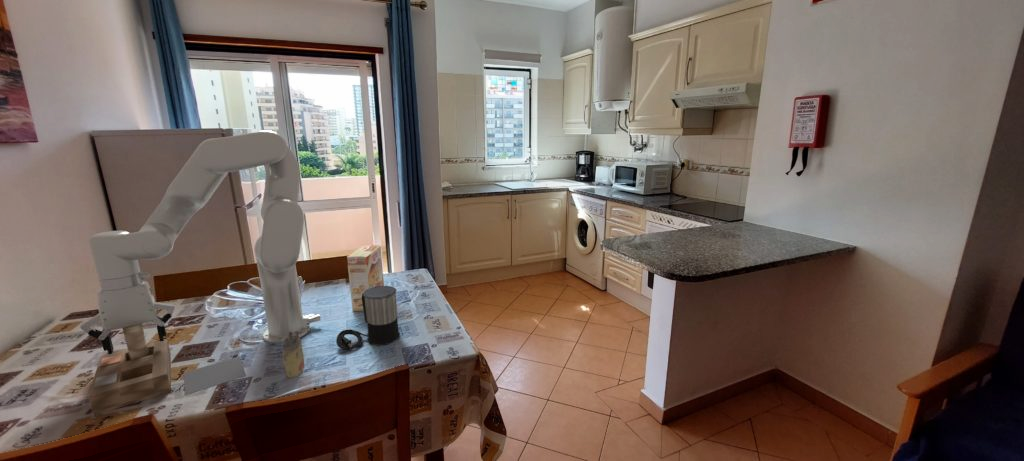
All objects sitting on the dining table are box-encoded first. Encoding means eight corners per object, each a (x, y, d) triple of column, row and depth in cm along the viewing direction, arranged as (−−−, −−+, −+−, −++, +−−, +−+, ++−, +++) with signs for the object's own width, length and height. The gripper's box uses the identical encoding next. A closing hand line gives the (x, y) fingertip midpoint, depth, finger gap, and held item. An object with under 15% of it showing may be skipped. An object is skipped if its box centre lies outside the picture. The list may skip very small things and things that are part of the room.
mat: (239, 357, 111) (239, 356, 111) (246, 377, 102) (246, 375, 102) (183, 374, 103) (183, 372, 103) (185, 396, 94) (185, 395, 94)
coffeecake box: (372, 311, 139) (366, 256, 135) (351, 311, 139) (345, 256, 135) (385, 294, 154) (381, 244, 149) (367, 294, 154) (362, 244, 150)
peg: (152, 362, 107) (141, 320, 104) (151, 368, 104) (141, 324, 102) (134, 367, 105) (122, 324, 102) (133, 373, 102) (121, 329, 100)
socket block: (170, 355, 112) (167, 337, 111) (171, 392, 96) (166, 372, 95) (105, 372, 104) (100, 354, 103) (93, 416, 88) (87, 395, 87)
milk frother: (406, 334, 123) (403, 288, 119) (368, 360, 109) (362, 308, 106) (371, 325, 129) (366, 281, 125) (330, 349, 115) (323, 299, 112)
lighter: (299, 377, 101) (294, 341, 99) (282, 380, 100) (277, 343, 98) (306, 362, 108) (301, 328, 106) (290, 364, 107) (285, 329, 105)
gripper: (167, 270, 108) (180, 329, 111) (73, 286, 97) (91, 351, 101) (167, 277, 102) (181, 340, 106) (67, 295, 91) (86, 363, 95)
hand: (137, 345), depth 103 cm, fingers open, 9 cm apart
